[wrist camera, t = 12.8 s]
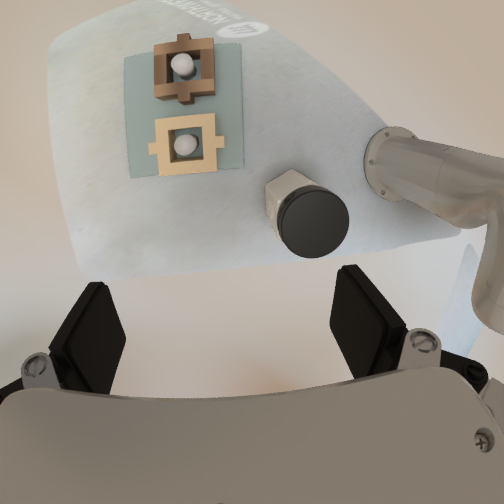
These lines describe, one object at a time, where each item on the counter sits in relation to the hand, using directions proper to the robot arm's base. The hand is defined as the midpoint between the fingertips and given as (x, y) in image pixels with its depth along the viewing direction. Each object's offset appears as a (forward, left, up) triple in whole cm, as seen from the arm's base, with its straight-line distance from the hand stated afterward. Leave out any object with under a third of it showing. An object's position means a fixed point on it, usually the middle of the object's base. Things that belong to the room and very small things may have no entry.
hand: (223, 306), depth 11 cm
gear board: (+5, -10, -30) cm, 32 cm away
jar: (-10, +4, -31) cm, 32 cm away
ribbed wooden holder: (+4, -15, -29) cm, 33 cm away
